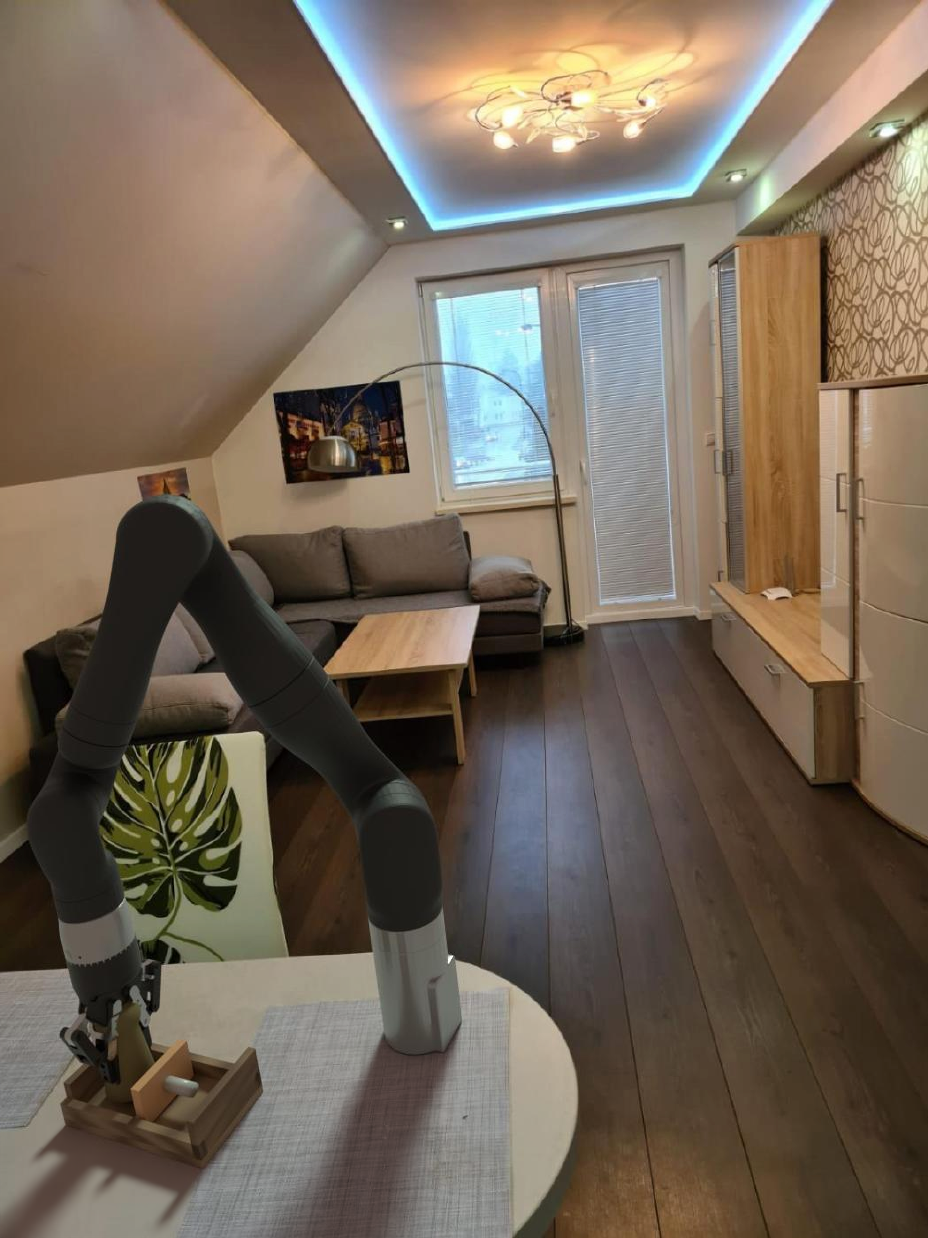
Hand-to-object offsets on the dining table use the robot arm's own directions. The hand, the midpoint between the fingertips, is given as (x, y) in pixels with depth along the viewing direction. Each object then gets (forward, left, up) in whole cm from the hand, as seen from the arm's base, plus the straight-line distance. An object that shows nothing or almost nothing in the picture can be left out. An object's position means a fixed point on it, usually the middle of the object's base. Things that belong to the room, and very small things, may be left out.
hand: (129, 1066), depth 100 cm
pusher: (-7, 0, -3) cm, 8 cm away
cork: (0, 0, -2) cm, 2 cm away
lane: (-4, 0, -5) cm, 6 cm away
